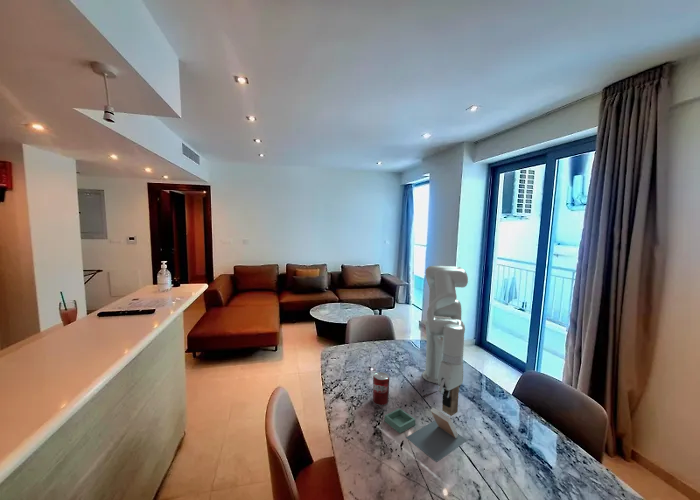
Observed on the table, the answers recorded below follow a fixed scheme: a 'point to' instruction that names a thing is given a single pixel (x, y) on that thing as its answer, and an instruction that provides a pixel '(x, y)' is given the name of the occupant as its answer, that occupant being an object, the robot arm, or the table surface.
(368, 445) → the table surface
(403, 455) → the table surface
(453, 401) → the brown wooden block
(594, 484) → the table surface
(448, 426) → the tile
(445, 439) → the mat
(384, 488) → the table surface
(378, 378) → the soda can
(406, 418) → the holder
